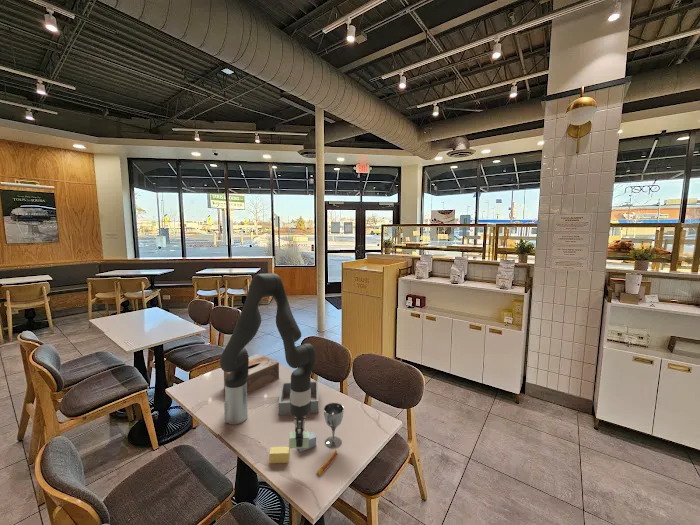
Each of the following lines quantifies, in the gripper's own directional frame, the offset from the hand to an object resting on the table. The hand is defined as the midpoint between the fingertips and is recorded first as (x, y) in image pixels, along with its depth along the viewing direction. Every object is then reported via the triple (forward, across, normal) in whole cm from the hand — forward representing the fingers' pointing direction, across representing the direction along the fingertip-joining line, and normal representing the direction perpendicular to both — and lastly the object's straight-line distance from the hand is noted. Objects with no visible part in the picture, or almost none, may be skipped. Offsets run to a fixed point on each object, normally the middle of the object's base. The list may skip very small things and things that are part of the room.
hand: (299, 442), depth 111 cm
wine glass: (+9, -11, +14) cm, 20 cm away
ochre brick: (+10, -4, -8) cm, 13 cm away
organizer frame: (+10, -41, -2) cm, 42 cm away
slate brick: (+10, -10, +2) cm, 14 cm away
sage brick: (+1, 0, 0) cm, 1 cm away
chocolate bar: (+10, 0, +10) cm, 14 cm away
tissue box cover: (+11, -63, -29) cm, 70 cm away
